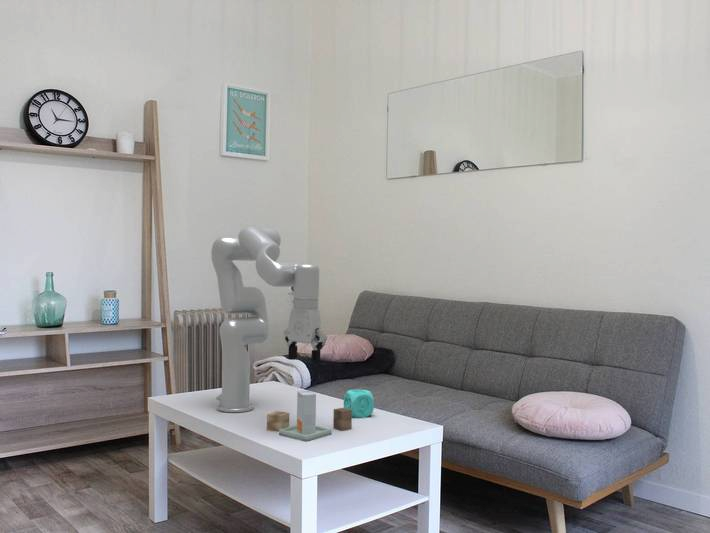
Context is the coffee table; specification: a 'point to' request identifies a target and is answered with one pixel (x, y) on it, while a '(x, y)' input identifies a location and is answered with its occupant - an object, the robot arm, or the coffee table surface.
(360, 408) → the decorative dice
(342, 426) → the walnut block
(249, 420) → the coffee table surface
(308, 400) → the skincare box
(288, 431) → the tray
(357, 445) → the coffee table surface
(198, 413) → the coffee table surface
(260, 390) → the coffee table surface
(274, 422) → the oak cube
